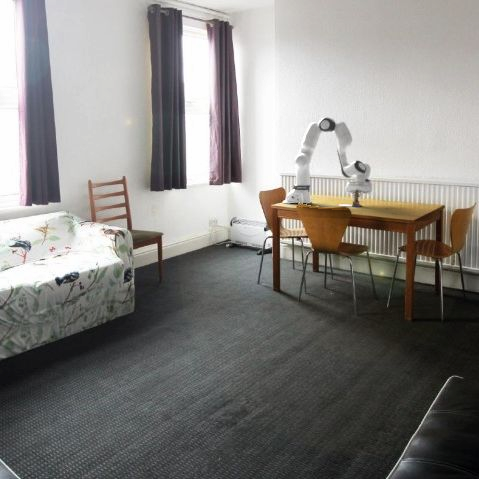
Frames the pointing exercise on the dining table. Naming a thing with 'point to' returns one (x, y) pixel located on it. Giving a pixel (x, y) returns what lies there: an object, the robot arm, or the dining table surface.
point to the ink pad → (356, 205)
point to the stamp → (356, 197)
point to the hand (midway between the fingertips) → (356, 196)
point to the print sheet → (345, 205)
